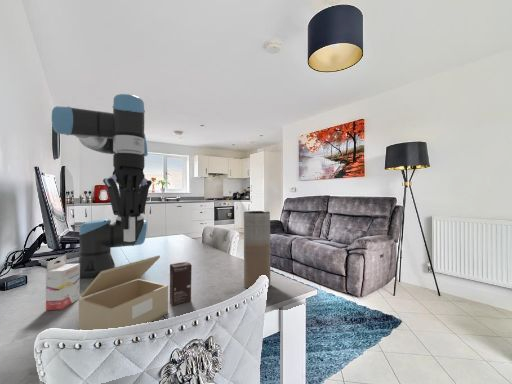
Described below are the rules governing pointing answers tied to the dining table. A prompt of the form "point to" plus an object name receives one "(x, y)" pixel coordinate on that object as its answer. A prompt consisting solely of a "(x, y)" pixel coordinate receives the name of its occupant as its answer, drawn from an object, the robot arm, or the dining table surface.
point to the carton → (124, 305)
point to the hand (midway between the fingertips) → (129, 241)
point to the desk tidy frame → (70, 255)
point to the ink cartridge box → (61, 284)
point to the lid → (119, 275)
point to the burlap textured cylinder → (256, 246)
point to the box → (180, 282)
